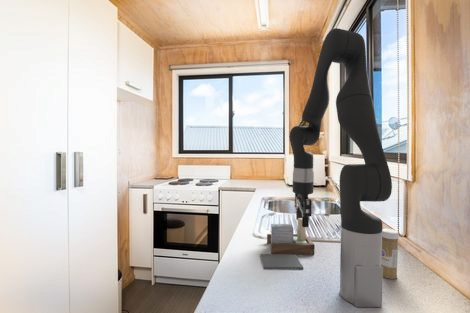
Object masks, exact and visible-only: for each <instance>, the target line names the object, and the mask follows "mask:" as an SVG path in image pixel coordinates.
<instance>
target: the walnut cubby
mask: <svg viewBox="0 0 470 313" xmlns="http://www.w3.org/2000/svg"><path fill="white" fill-rule="evenodd" d="M293 236H295V237H297V233H293ZM305 241H306V242H307V243H271V233H267V234H266V243H267V245H270V254H295V255H296V256H297V255H300V256H302V255H315V248H316V247H315V243H314V242H313V241H312V240H311V239H310V238H309V237H308V236H307V235H306V240H305Z"/></svg>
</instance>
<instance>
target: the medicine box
mask: <svg viewBox="0 0 470 313" xmlns="http://www.w3.org/2000/svg"><path fill="white" fill-rule="evenodd" d="M270 225H271V226H270V227H271V228H270V234H271V243H293V234H294V226H293V224H292V223H291V224H288V223H287V224H286V223H271V224H270Z"/></svg>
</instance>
